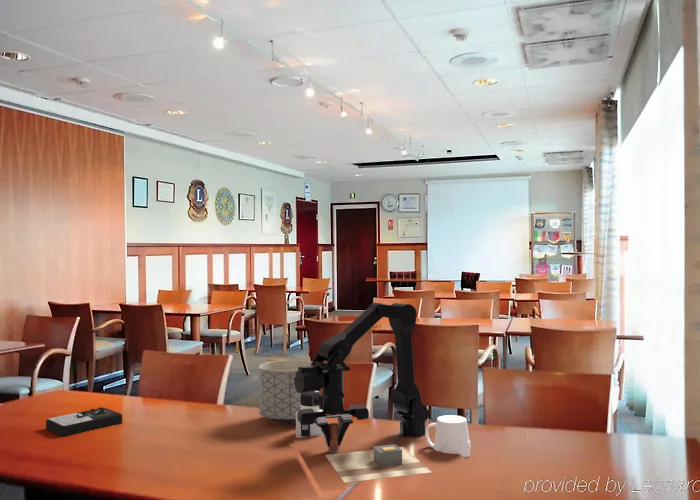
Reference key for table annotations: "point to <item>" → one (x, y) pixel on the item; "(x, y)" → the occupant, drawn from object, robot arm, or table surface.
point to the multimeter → (83, 421)
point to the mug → (450, 435)
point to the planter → (279, 390)
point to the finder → (387, 455)
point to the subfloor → (373, 466)
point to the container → (310, 428)
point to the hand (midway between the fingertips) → (333, 446)
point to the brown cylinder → (333, 437)
